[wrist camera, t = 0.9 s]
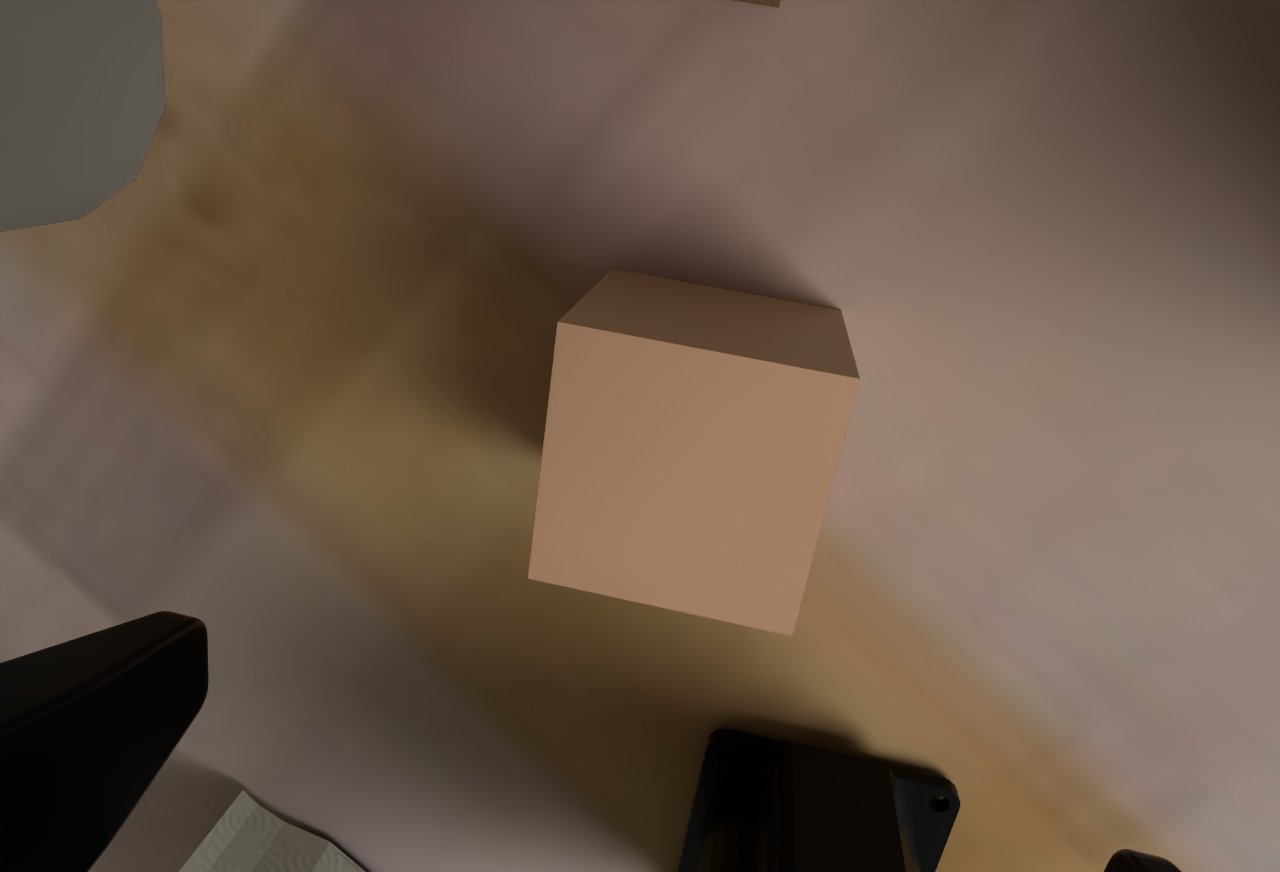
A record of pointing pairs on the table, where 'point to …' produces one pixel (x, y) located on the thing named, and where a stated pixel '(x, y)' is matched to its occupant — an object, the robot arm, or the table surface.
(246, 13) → the table surface
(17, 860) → the robot arm
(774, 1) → the pedestal
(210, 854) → the paper towel roll
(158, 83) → the cup
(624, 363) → the cube
